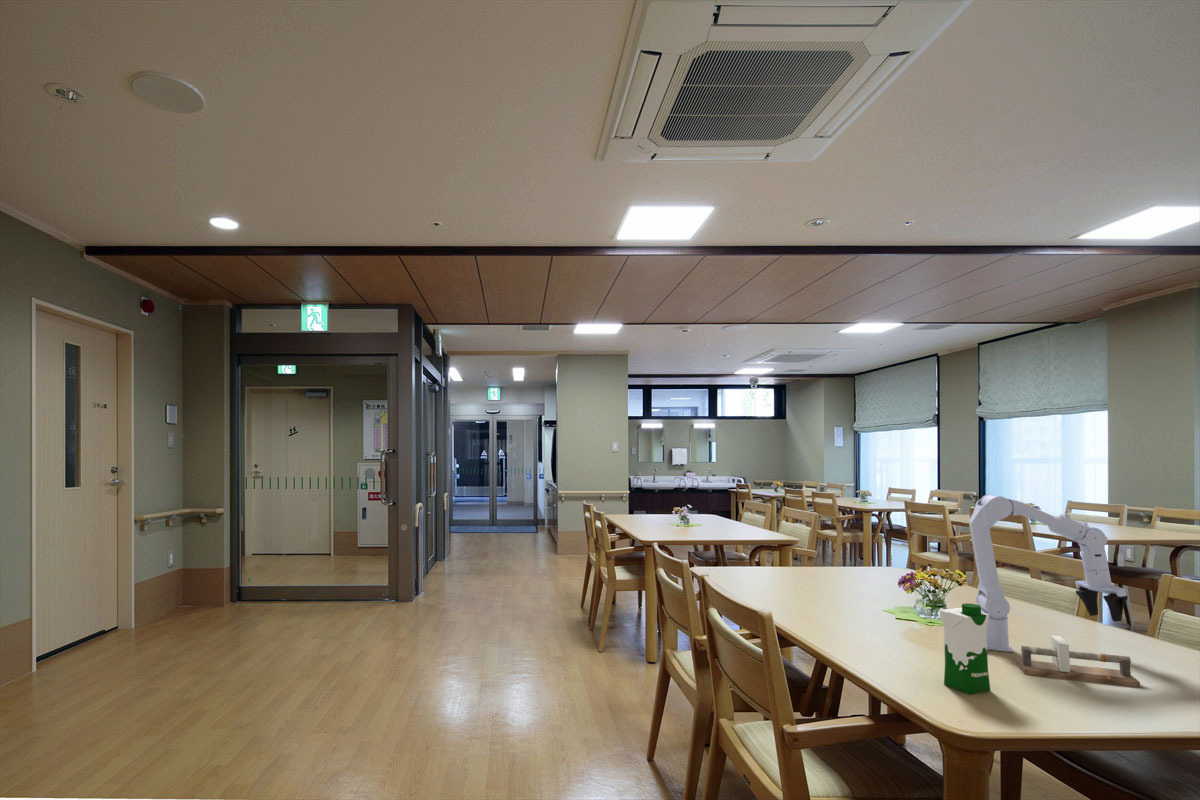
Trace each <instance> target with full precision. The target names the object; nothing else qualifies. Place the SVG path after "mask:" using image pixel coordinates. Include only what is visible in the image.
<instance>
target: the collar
mask: <svg viewBox="0 0 1200 800" xmlns="http://www.w3.org/2000/svg"><path fill="white" fill-rule="evenodd" d="M1050 641H1051V649H1057V657H1055V656H1051V661H1052V662H1051V663H1054V664H1055V665H1056V667H1057V668H1058V669H1059V670H1060V671H1063V672H1070V665H1071V664H1070V663H1071V662H1070V658H1069V651H1070V648H1069V646H1070V645H1069V643H1068V642H1067V641H1065V639H1063V638H1062V636H1059V635H1051V636H1050Z"/></svg>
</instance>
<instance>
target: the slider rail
mask: <svg viewBox="0 0 1200 800" xmlns="http://www.w3.org/2000/svg"><path fill="white" fill-rule="evenodd" d="M1020 649H1021V650H1020V651H1021V657H1022V659H1019V658H1017V659H1016V665H1017V666H1018V667H1019V669H1020V670H1021V672H1022V673H1023V674H1024V675H1027V676H1029V675H1030V676H1038V677H1047V678H1056V679H1063V680H1073V681H1082V682H1091V683H1098V684H1109V685H1117V686H1125V687H1134V688H1141V682H1140V681H1139V680H1138V679H1137V678H1135V677H1134V675H1132V671H1131V664H1132V659H1131V657H1130V656H1127V655H1125V656H1124V655H1116V654H1106V653H1097V652H1087V651H1077V650H1069V659H1075V660H1085V661H1092V662H1093V661H1096V662H1101V663H1113V664H1119V669H1113V668H1103V667H1100V666H1099V667H1098V666H1097V667H1095V666H1094V667H1093V666H1085V665H1077V664H1070V672H1063V671H1060V670H1059V669H1058V668H1057V667H1056V665H1055V664H1054V663H1053V662H1049V661H1037V660H1032V655H1036V656H1037V655H1038V656H1044V657H1045V656H1046V657H1052V656H1055V657H1057V649H1052V648H1049V647H1046V648H1045V647H1037V646H1028V645H1027V646H1025V645H1021V647H1020Z"/></svg>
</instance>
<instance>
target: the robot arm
mask: <svg viewBox="0 0 1200 800" xmlns="http://www.w3.org/2000/svg"><path fill="white" fill-rule="evenodd" d="M1009 516H1012V517H1013V516H1023V517H1026V518H1028V519H1031V520H1033V521H1035V522H1039V523H1040V524H1043V525H1046V526H1047V527H1048V529H1049V531H1050V532H1051V533H1053V534H1056V535H1058V536H1061V537H1063V538H1066V539H1067V540H1070V541H1073V542H1076V544H1079V549H1080V550H1079V551H1080V555H1081V560H1082V561H1081V562H1082V566H1083V571H1084V576H1085V577H1084V578H1085V580H1076V581H1074V584H1075V588H1076V590H1075V594H1077V596H1078V597H1079V598H1080V600H1081V602H1082V603H1083V605H1084V607H1085V608H1086V611H1087V612H1088V615H1089V616H1092V617H1093V616H1098V615H1099V608H1098V594H1099V593H1102V594H1103V593H1104V594H1107V595H1103V596H1102V597H1103V599H1104V601H1105V602H1106V604H1107V607H1108V609H1109V613H1110V617H1111V619H1112V622H1115V623H1117V622H1122V621H1123V611H1124V607H1125V604H1126V602H1127V601H1128V598H1129V596H1128V595H1127V592H1126V588H1123V587H1120V586H1117V585H1115V583H1113V582H1112V579H1111V575H1110V569H1109V563H1108V559H1107V554H1106V553H1107V552H1106V548H1105V546H1106V545H1107V542H1108V536H1106V535H1105V532H1103V530H1102V529H1100V528H1098V527H1094V526H1090V525H1088V522H1086V521H1079V520H1076V519H1074V518H1071V516H1070V515H1069V514H1067V513H1063V514H1061V513H1056V514H1053V515H1052V514H1049V513H1048V512H1045V511H1043V510H1041V509H1038V508H1036V507H1034V506H1031V505H1029V504H1027V503H1025V502H1023V501H1019V500H1014V499H1011V498H1006V497H1004V496H998V495H995V494H985V495H983V496H982V497H981V498H980V499H978V501H976V503H975V508H974V510H973V512H972V514H971V516H970V519H969V521H968V525H969V531H970V537H971V542H972V549H973V554H974V560H975V566H976V570H977V576H978V585H977V591H978V592H977V595H976V599H975V600H976V605H979V606H981V612H982V613H985V614H989V620H988V626H987V633H986V634H987V651H988V650H991V651H1000V652H1010V653H1013V652H1014V650H1013V648H1012V647H1011V646H1010V644H1009V643H1010V641H1009V640H1010V639H1009V638H1010V637H1009V620H1008V617H1009V616H1008V615H1009V614H1010V613H1009V612H1010V610H1011V606H1010V603H1009V601H1008V600H1007V599H1006V598H1005V594H1004V590H1003V588H1002V587H1001V583H1000V580H999V575H998V574H999V573H998V570H997V569H998V568H997V565H996V557H995V553H994V547H993V542H992V541H993V540H992V536H991V532H990V531H991V528H992V527H993V526H994V525H995V524H996V523H998V522H999V521H1001V520H1004V519H1006V518H1007V517H1009Z"/></svg>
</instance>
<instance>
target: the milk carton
mask: <svg viewBox="0 0 1200 800" xmlns="http://www.w3.org/2000/svg"><path fill="white" fill-rule="evenodd" d="M939 614H940V618H941V622H942V627H943V645H944V646H943V647H944V648H943V649H944V671H943V672H944V676H943V685H945V686H948V687H950V688H953V689H955V690H958V691H960V692H962V693H964V694H967V695H974V694H979V693H983V692H989V691H991V685H990V674H989V662H988V661H989V660H988V649H987V634H986V633H987V626H988V620H989V614H985V613H982V612H981V606H979V605H978V604H977V603H962V604H961V607H955V608H946V609H940V610H939Z"/></svg>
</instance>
